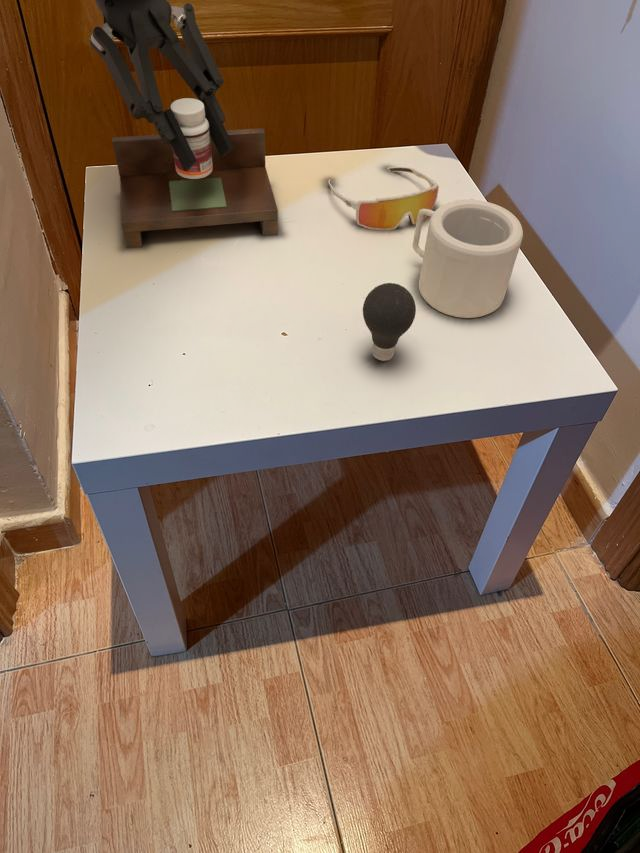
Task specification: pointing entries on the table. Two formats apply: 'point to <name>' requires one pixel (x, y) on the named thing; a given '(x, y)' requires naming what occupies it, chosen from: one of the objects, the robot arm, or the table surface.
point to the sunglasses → (393, 205)
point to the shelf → (193, 187)
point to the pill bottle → (194, 136)
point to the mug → (467, 256)
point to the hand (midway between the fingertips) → (209, 158)
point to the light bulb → (388, 317)
